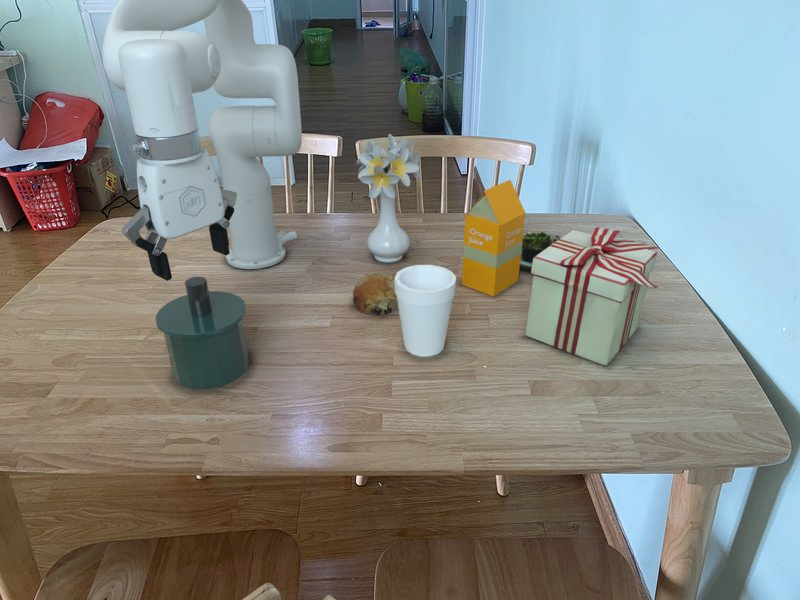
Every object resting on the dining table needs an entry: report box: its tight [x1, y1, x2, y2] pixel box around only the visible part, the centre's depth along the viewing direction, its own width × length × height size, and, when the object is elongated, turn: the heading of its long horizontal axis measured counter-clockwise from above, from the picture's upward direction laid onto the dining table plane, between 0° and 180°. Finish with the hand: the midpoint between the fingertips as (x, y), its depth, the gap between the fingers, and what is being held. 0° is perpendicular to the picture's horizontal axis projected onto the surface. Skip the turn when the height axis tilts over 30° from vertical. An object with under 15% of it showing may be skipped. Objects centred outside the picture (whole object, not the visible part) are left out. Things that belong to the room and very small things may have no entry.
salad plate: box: [519, 230, 564, 273], centre depth 130 cm, size 19×18×5 cm
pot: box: [163, 318, 250, 390], centre depth 91 cm, size 11×11×10 cm
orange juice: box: [461, 179, 526, 297], centre depth 114 cm, size 8×9×20 cm
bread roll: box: [352, 271, 399, 316], centre depth 111 cm, size 10×10×8 cm
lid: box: [155, 276, 247, 338], centre depth 88 cm, size 13×13×6 cm
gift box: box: [524, 226, 660, 367], centre depth 98 cm, size 17×18×17 cm
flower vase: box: [355, 133, 422, 264], centre depth 123 cm, size 13×18×25 cm
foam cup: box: [394, 264, 457, 358], centre depth 96 cm, size 10×9×13 cm
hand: (193, 264), depth 86 cm, fingers open, 9 cm apart
